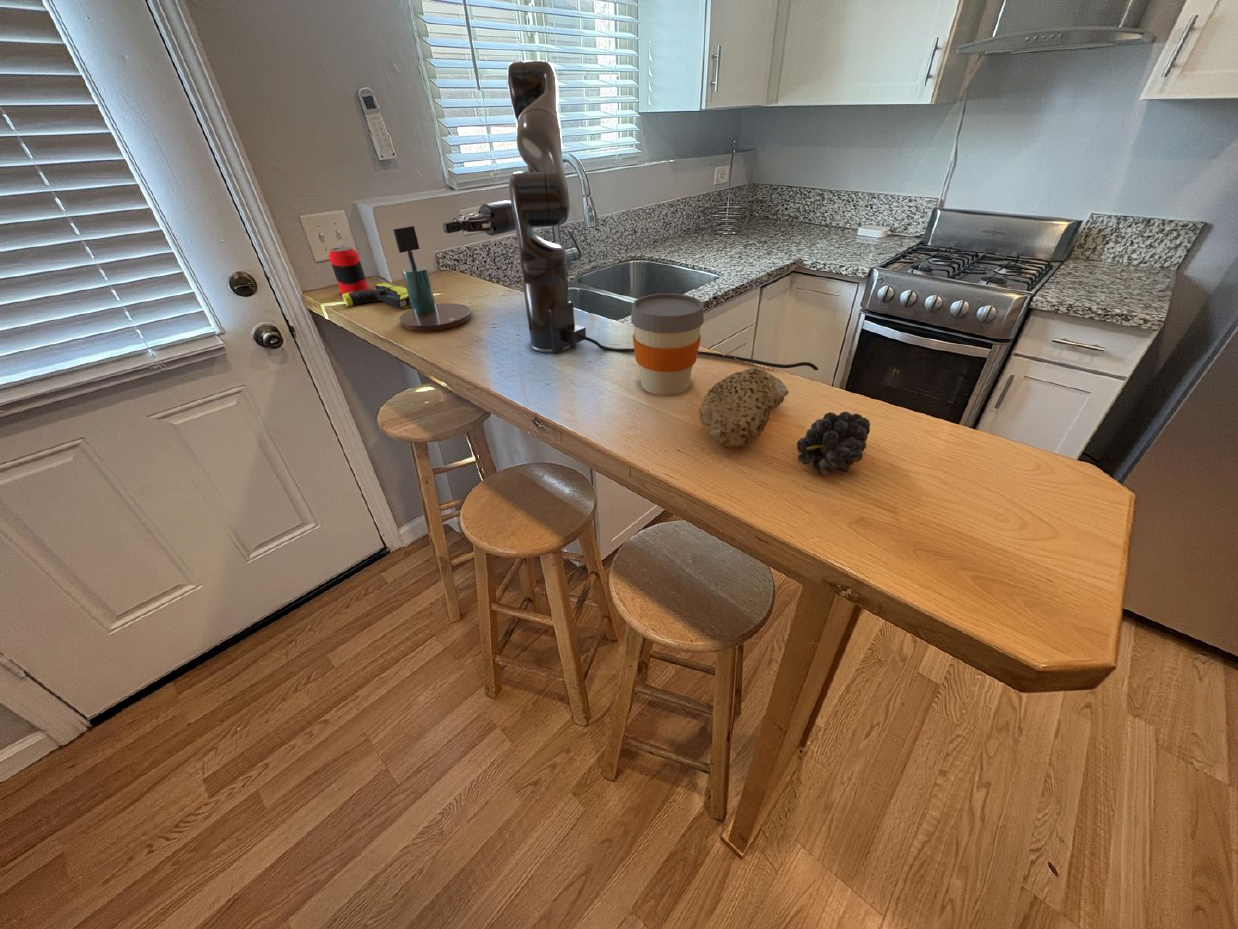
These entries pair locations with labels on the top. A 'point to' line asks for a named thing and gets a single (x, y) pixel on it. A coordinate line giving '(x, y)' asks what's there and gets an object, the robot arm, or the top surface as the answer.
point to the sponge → (741, 406)
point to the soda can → (348, 269)
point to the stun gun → (380, 296)
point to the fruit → (834, 442)
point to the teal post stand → (424, 293)
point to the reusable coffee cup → (666, 340)
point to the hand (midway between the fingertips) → (444, 228)
